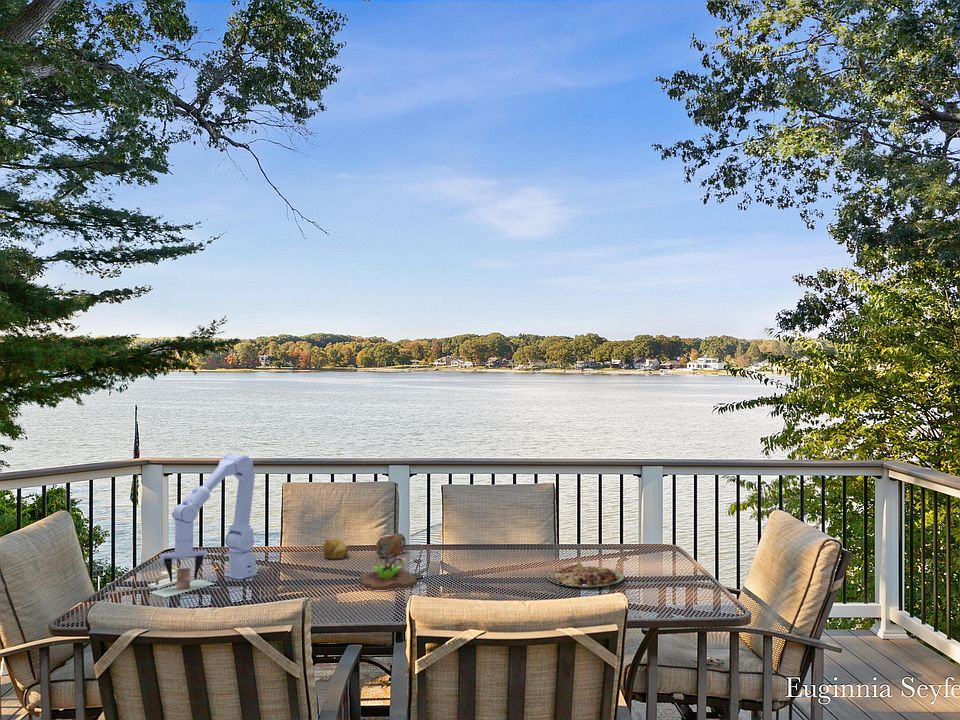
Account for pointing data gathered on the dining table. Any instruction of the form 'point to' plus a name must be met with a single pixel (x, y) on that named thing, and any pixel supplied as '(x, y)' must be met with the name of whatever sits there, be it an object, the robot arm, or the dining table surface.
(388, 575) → the plant
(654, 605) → the dining table surface
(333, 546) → the bread roll
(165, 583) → the wire track
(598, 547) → the dining table surface
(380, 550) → the tree canopy
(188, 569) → the rust block
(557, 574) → the rice dish
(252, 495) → the robot arm
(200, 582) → the end mat
